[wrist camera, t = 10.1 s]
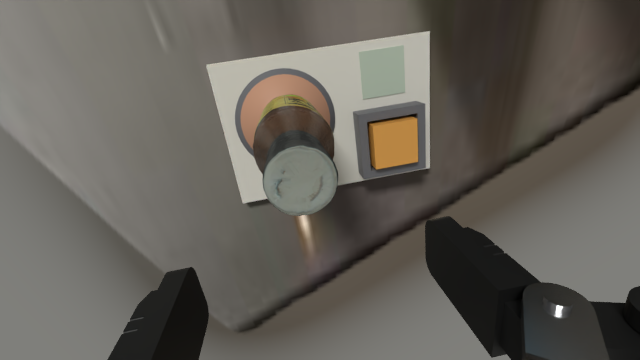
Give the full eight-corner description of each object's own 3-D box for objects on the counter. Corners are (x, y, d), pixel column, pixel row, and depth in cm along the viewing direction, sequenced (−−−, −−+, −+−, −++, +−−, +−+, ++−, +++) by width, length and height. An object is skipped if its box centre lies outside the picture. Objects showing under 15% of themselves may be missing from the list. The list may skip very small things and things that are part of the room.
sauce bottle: (326, 125, 35) (385, 197, 17) (283, 158, 36) (295, 260, 18) (292, 78, 33) (318, 102, 14) (247, 113, 33) (216, 179, 15)
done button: (409, 115, 35) (417, 118, 33) (410, 156, 37) (418, 161, 35) (367, 122, 35) (372, 126, 33) (370, 163, 37) (376, 169, 35)
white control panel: (424, 32, 34) (440, 29, 31) (425, 165, 40) (439, 174, 37) (208, 64, 32) (201, 65, 29) (243, 199, 38) (241, 212, 35)
